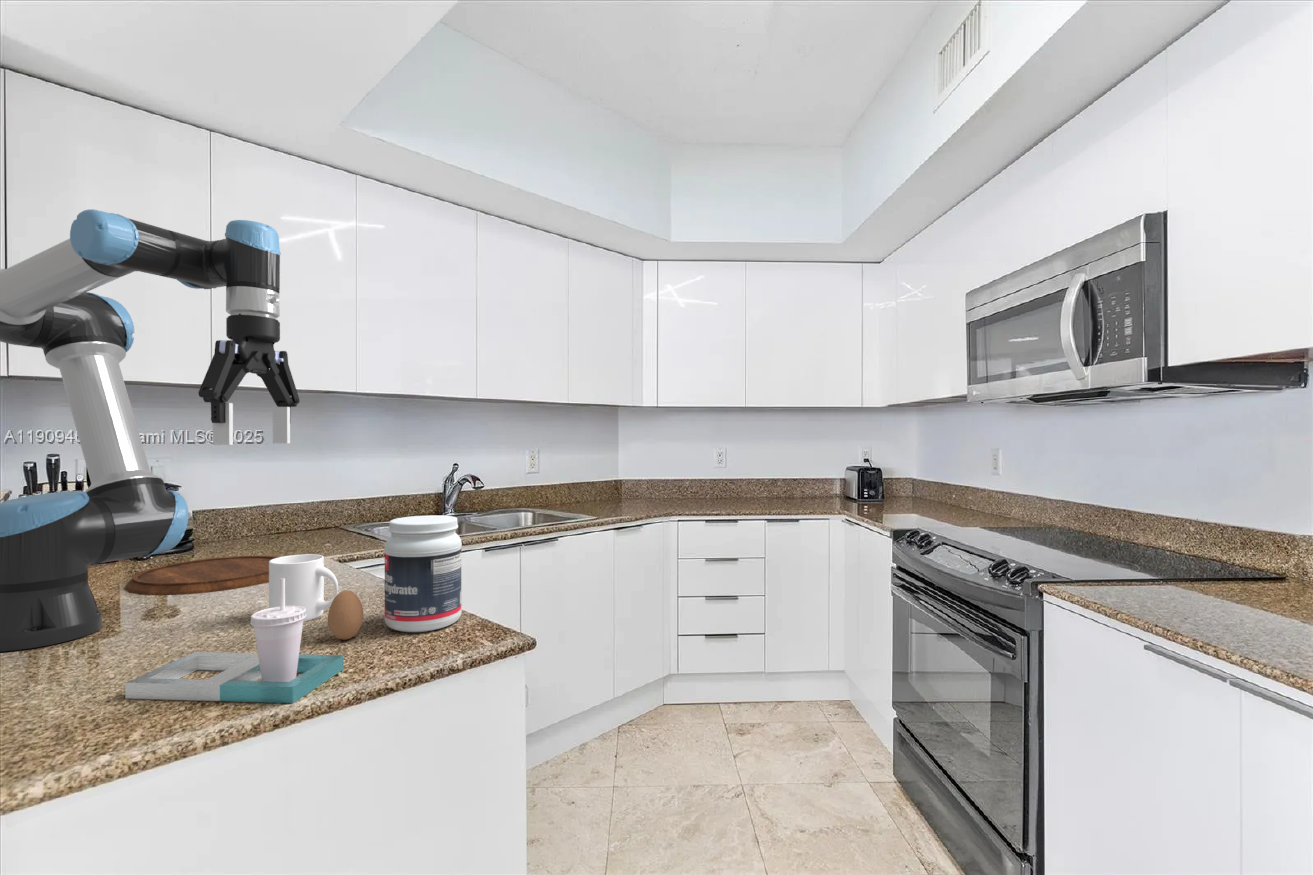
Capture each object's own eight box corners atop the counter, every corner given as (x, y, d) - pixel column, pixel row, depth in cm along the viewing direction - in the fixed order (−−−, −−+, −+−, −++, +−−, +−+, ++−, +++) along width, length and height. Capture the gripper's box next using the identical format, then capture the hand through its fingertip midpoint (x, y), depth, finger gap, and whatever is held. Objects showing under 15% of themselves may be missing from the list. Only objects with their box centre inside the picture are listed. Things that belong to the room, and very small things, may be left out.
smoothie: (318, 678, 84) (317, 576, 84) (275, 697, 78) (274, 587, 78) (283, 672, 86) (282, 572, 86) (238, 690, 80) (237, 583, 80)
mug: (323, 625, 107) (323, 564, 107) (257, 624, 108) (257, 563, 108) (351, 611, 116) (350, 554, 116) (290, 610, 117) (289, 553, 116)
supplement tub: (367, 628, 105) (367, 521, 105) (425, 609, 117) (424, 513, 117) (422, 639, 100) (422, 526, 100) (477, 618, 111) (477, 517, 111)
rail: (125, 698, 77) (125, 682, 77) (196, 665, 88) (196, 651, 88) (292, 703, 76) (292, 687, 76) (343, 669, 87) (343, 655, 87)
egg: (349, 632, 103) (349, 585, 103) (370, 636, 101) (370, 588, 101) (320, 641, 99) (320, 592, 99) (341, 646, 96) (341, 596, 96)
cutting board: (262, 559, 166) (262, 550, 166) (319, 575, 147) (319, 564, 147) (106, 582, 140) (106, 571, 140) (152, 605, 121) (152, 592, 121)
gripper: (217, 300, 90) (217, 445, 90) (320, 329, 115) (321, 442, 115) (168, 301, 91) (169, 445, 91) (282, 330, 115) (282, 442, 116)
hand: (254, 444), depth 103 cm, fingers open, 13 cm apart
